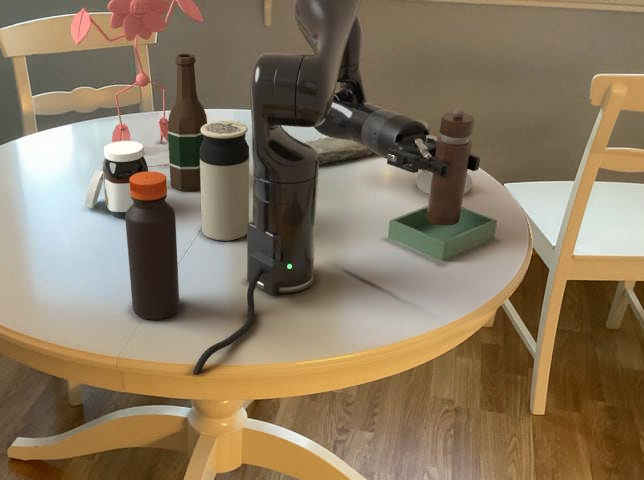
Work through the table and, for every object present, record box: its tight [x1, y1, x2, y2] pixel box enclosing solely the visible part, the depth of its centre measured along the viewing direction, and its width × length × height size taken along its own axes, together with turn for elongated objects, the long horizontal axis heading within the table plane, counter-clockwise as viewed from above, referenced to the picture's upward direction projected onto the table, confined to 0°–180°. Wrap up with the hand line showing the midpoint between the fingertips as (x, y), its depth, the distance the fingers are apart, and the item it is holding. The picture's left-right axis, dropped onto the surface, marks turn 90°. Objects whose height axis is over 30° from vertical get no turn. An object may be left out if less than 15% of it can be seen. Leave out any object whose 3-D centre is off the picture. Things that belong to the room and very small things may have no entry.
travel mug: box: [200, 120, 250, 242], centre depth 139 cm, size 8×8×18 cm
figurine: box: [70, 0, 204, 168], centre depth 165 cm, size 15×26×35 cm, turn 111°
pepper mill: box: [427, 107, 475, 225], centre depth 132 cm, size 5×5×18 cm
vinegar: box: [124, 170, 180, 321], centre depth 117 cm, size 7×7×20 cm
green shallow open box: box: [387, 205, 498, 262], centre depth 138 cm, size 13×11×4 cm
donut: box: [415, 170, 473, 196], centre depth 156 cm, size 10×4×10 cm
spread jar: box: [84, 140, 149, 219], centre depth 149 cm, size 12×11×12 cm
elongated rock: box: [304, 119, 431, 165], centre depth 174 cm, size 35×5×10 cm
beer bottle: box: [167, 53, 208, 192], centre depth 155 cm, size 8×8×24 cm
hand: (462, 168), depth 130 cm, fingers closed on pepper mill, 5 cm apart
